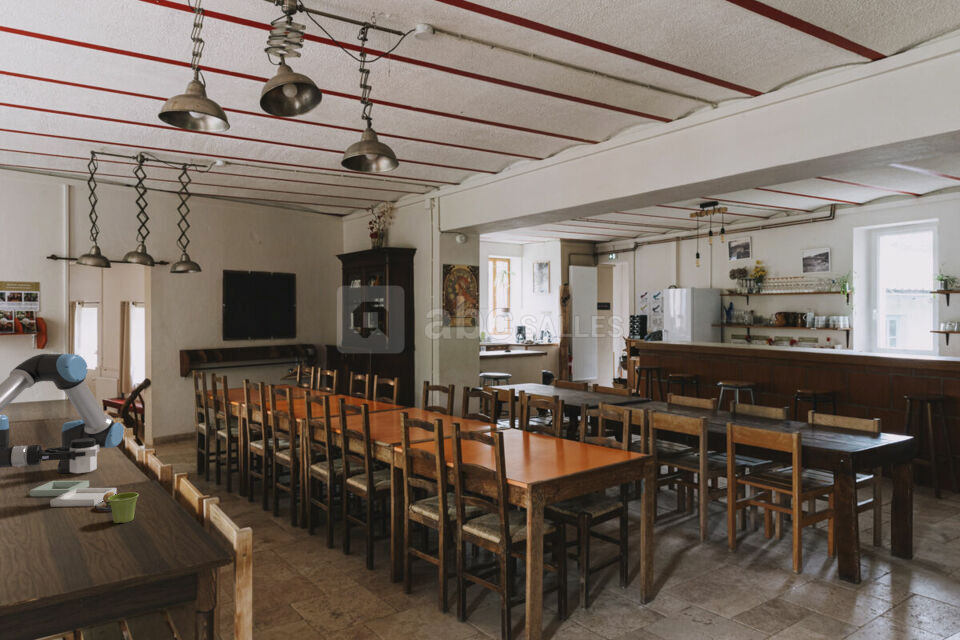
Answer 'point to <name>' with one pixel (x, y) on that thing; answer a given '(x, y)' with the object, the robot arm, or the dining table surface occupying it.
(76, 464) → the jar
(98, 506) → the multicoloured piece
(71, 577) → the dining table surface
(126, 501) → the plant pot
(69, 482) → the pale green square frame
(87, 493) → the tray
